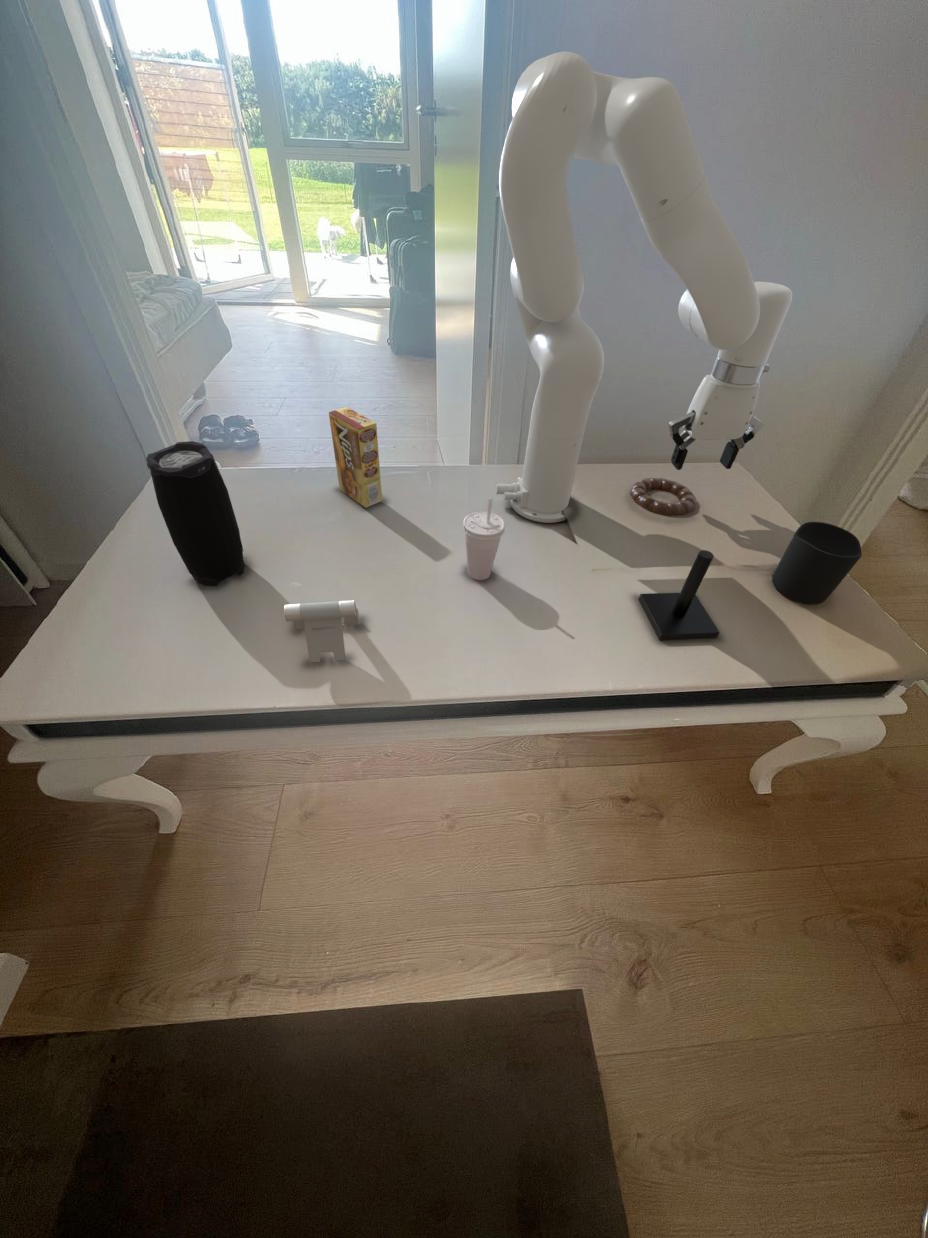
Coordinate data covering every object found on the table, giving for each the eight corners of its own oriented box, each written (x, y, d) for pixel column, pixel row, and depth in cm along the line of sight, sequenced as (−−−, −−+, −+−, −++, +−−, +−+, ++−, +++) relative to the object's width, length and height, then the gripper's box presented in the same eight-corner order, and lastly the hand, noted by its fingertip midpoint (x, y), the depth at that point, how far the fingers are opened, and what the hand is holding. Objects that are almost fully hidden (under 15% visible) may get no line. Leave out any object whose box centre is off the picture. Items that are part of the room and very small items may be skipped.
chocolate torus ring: (641, 522, 99) (646, 508, 96) (620, 488, 107) (624, 475, 105) (703, 521, 100) (709, 508, 98) (677, 488, 109) (682, 475, 107)
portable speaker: (178, 587, 78) (127, 468, 65) (205, 550, 85) (163, 435, 72) (234, 592, 78) (195, 474, 65) (257, 555, 85) (225, 440, 71)
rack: (659, 640, 76) (688, 575, 68) (638, 599, 83) (662, 535, 74) (716, 638, 77) (753, 574, 69) (691, 597, 84) (722, 534, 75)
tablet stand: (359, 618, 76) (354, 574, 70) (360, 659, 70) (354, 614, 65) (297, 622, 75) (287, 577, 69) (294, 664, 69) (282, 619, 63)
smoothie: (495, 588, 82) (505, 512, 73) (455, 581, 83) (460, 505, 73) (501, 564, 87) (511, 489, 77) (463, 557, 88) (469, 483, 78)
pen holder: (841, 599, 85) (879, 550, 78) (800, 613, 82) (835, 563, 75) (796, 565, 91) (826, 517, 84) (756, 576, 88) (784, 527, 81)
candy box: (383, 501, 99) (378, 422, 88) (365, 509, 96) (357, 429, 86) (355, 483, 103) (347, 405, 92) (337, 490, 101) (327, 411, 90)
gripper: (773, 363, 90) (734, 455, 102) (678, 363, 88) (649, 457, 100) (797, 379, 85) (753, 475, 97) (696, 379, 83) (664, 476, 95)
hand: (700, 465), depth 98 cm, fingers open, 9 cm apart
